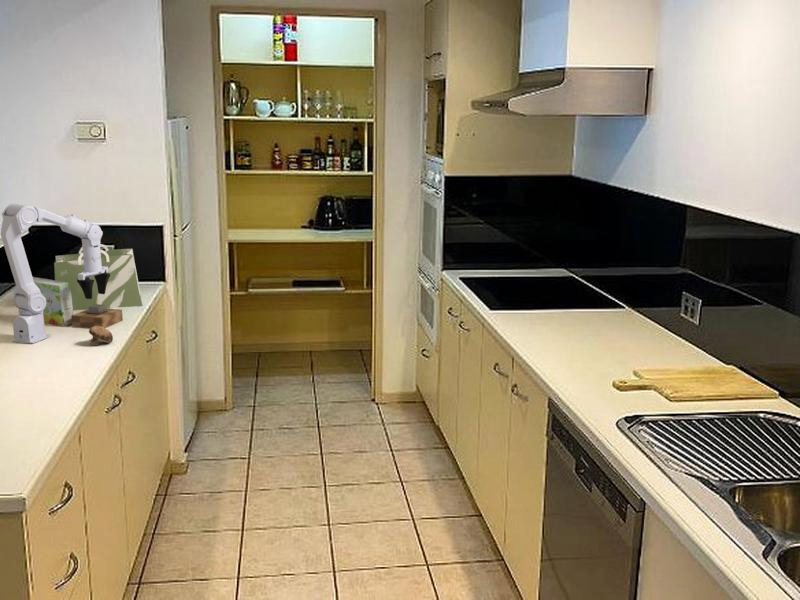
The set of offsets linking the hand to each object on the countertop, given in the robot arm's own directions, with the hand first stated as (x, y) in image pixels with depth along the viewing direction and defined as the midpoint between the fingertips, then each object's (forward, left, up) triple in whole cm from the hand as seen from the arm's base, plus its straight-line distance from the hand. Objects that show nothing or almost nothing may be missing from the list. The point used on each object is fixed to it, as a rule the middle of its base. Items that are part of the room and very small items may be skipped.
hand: (95, 296), depth 288 cm
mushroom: (-21, -16, -10) cm, 28 cm away
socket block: (0, 0, -10) cm, 10 cm away
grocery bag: (+24, +16, -10) cm, 31 cm away
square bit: (0, 0, -10) cm, 10 cm away
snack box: (-2, +19, -10) cm, 21 cm away
